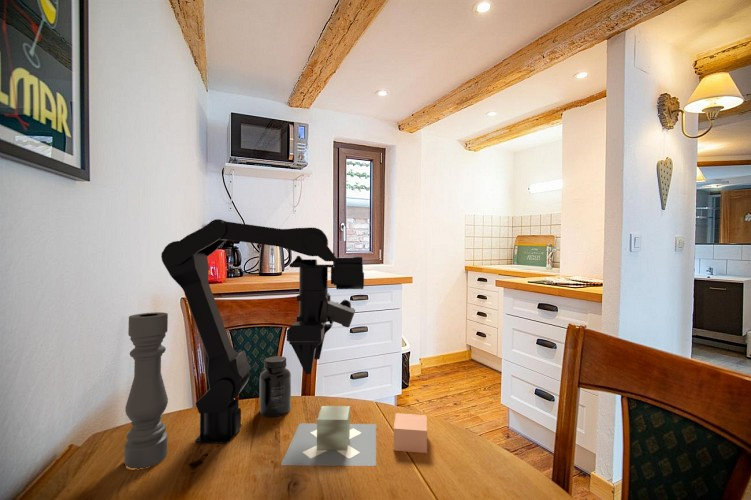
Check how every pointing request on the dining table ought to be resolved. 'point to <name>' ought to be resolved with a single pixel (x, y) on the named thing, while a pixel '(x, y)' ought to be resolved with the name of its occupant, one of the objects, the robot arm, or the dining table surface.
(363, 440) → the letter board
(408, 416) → the terracotta block
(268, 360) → the supplement bottle
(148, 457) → the candle holder
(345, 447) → the sage cube
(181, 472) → the dining table surface
